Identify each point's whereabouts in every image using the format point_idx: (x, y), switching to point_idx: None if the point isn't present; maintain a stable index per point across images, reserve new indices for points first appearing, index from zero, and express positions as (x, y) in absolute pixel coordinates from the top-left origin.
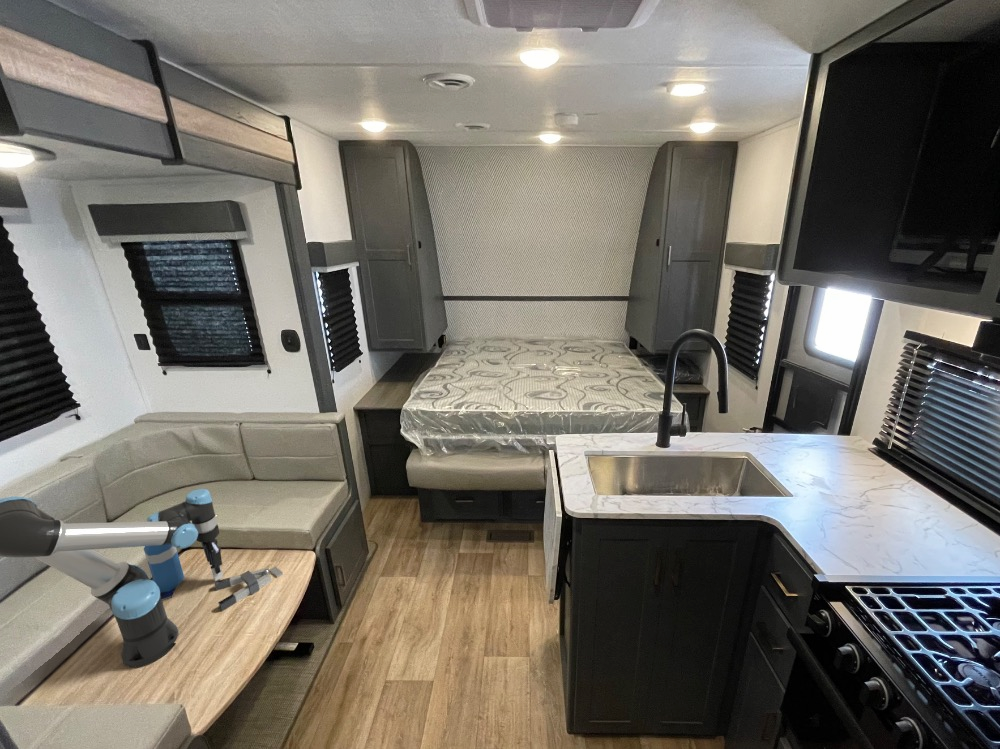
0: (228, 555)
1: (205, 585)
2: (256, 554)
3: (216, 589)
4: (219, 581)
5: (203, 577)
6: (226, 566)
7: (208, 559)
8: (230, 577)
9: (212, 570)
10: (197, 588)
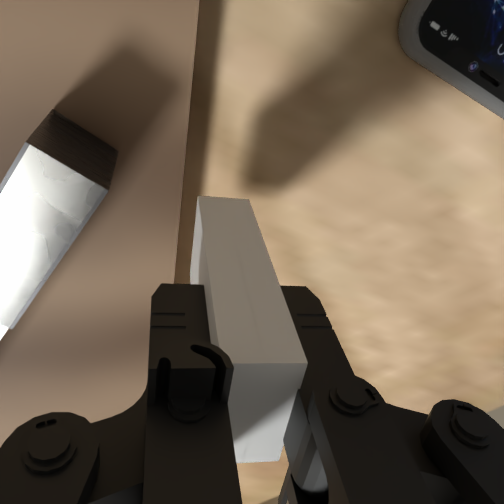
0: (472, 383)
1: (334, 102)
2: (271, 479)
3: (45, 120)
4: (49, 219)
5: (468, 158)
6: (377, 331)
7: (459, 477)
8: (5, 329)
9: (243, 299)
10: (382, 21)
